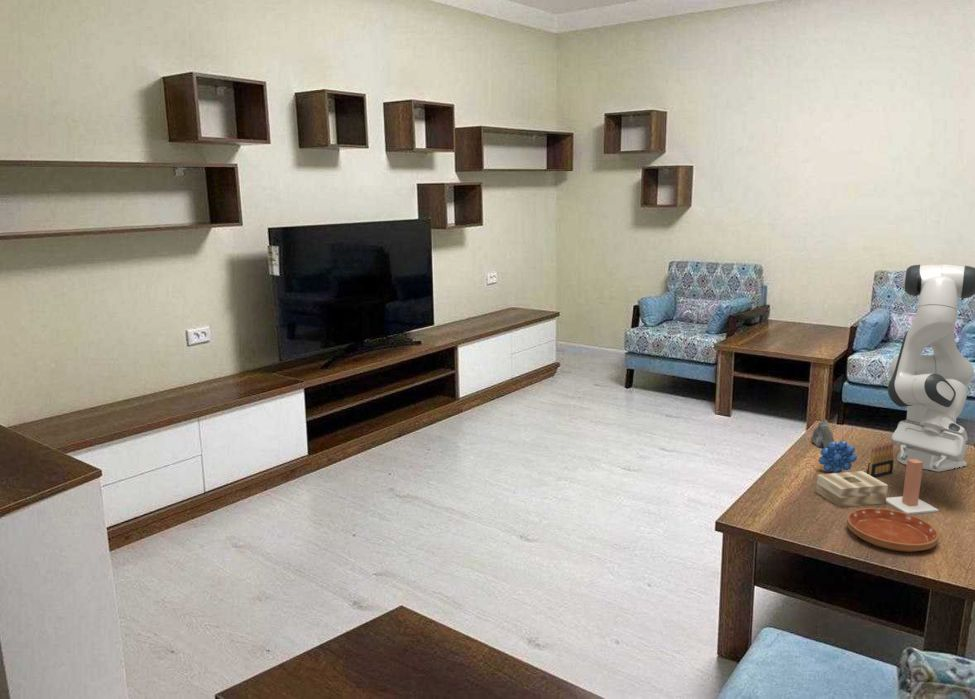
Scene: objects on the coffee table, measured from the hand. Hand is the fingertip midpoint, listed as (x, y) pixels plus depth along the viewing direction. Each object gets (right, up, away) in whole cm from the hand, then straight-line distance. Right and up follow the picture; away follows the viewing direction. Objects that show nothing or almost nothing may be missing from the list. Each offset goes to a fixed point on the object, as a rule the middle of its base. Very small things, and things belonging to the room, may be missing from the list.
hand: (918, 463), depth 234 cm
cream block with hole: (-18, -12, +7) cm, 22 cm away
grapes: (-13, -7, +27) cm, 31 cm away
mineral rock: (-4, -1, +57) cm, 57 cm away
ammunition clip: (+1, -8, +25) cm, 26 cm away
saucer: (-19, -18, -19) cm, 33 cm away
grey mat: (-3, -13, +1) cm, 13 cm away
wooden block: (-3, -13, 0) cm, 13 cm away
